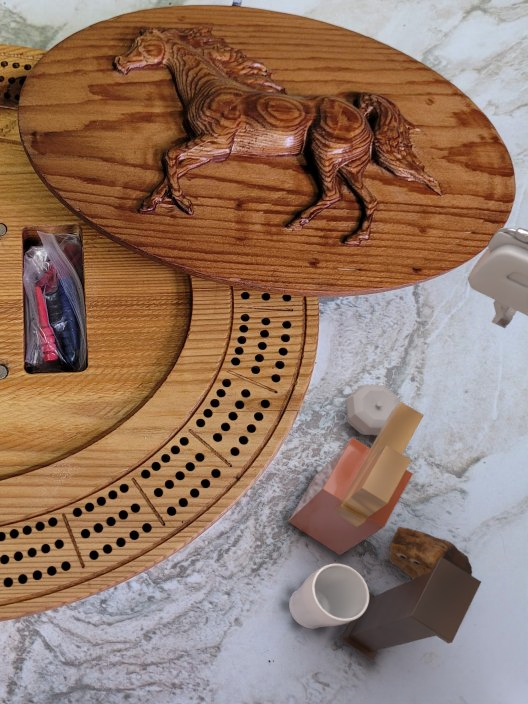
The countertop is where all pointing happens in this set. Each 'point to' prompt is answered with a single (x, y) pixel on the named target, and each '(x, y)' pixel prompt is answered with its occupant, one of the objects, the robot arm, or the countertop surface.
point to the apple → (370, 408)
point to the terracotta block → (326, 495)
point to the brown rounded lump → (423, 552)
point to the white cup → (330, 597)
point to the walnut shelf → (414, 611)
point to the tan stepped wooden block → (380, 467)
